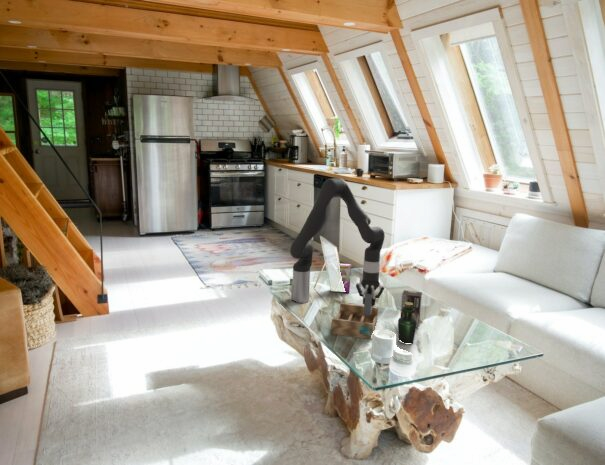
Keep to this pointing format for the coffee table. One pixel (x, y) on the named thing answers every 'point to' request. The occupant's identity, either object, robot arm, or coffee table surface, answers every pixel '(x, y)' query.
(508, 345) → the coffee table surface
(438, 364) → the coffee table surface
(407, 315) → the potion bottle
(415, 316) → the coffee box
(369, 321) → the rack
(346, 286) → the candy bar box
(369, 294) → the panel
